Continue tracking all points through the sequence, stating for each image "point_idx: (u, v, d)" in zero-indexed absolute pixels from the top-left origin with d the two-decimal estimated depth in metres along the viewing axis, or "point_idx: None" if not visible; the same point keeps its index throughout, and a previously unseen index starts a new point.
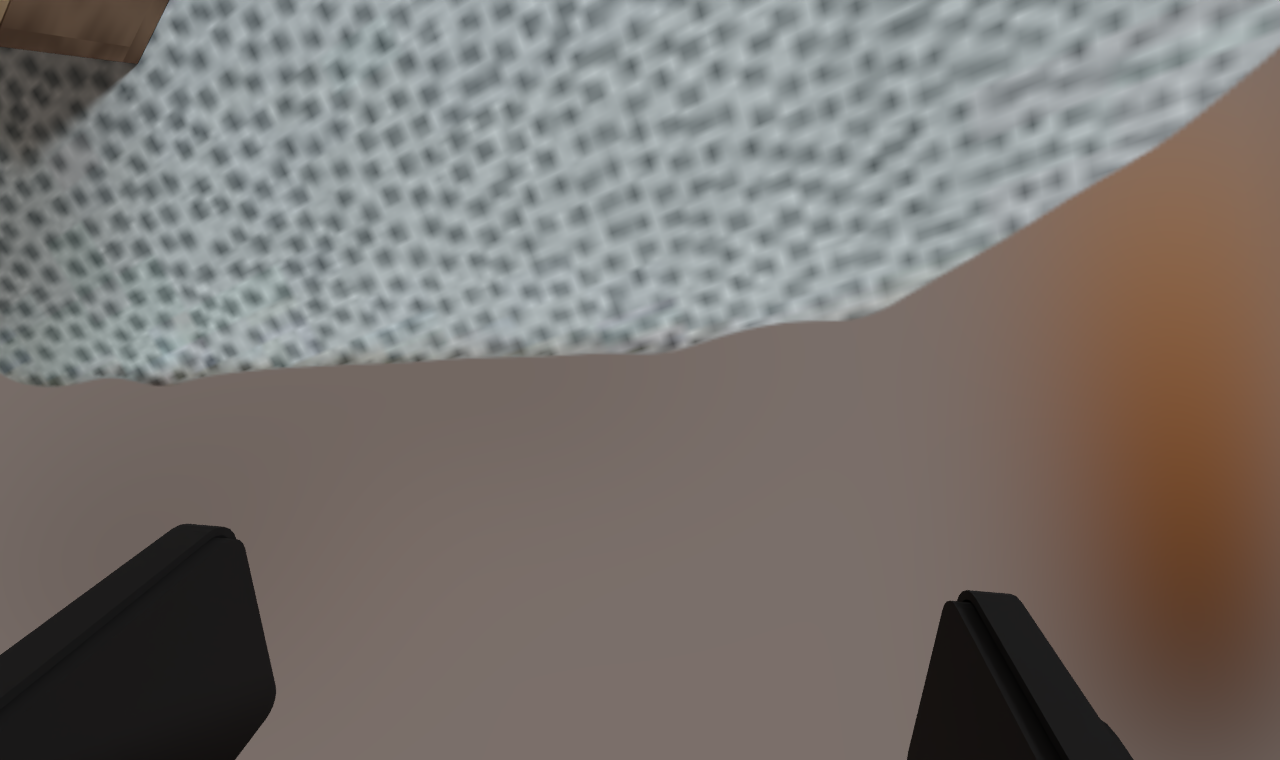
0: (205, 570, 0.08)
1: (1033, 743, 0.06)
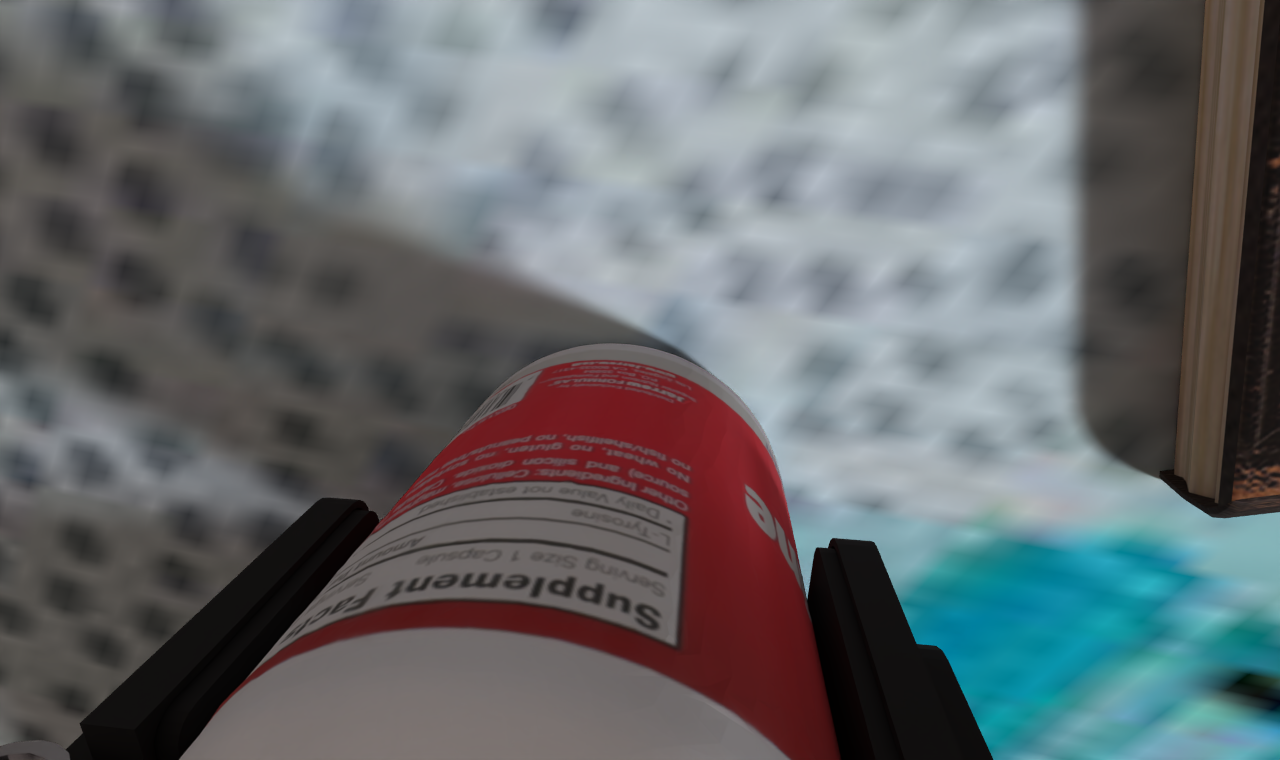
0: (352, 538, 0.09)
1: (853, 656, 0.07)
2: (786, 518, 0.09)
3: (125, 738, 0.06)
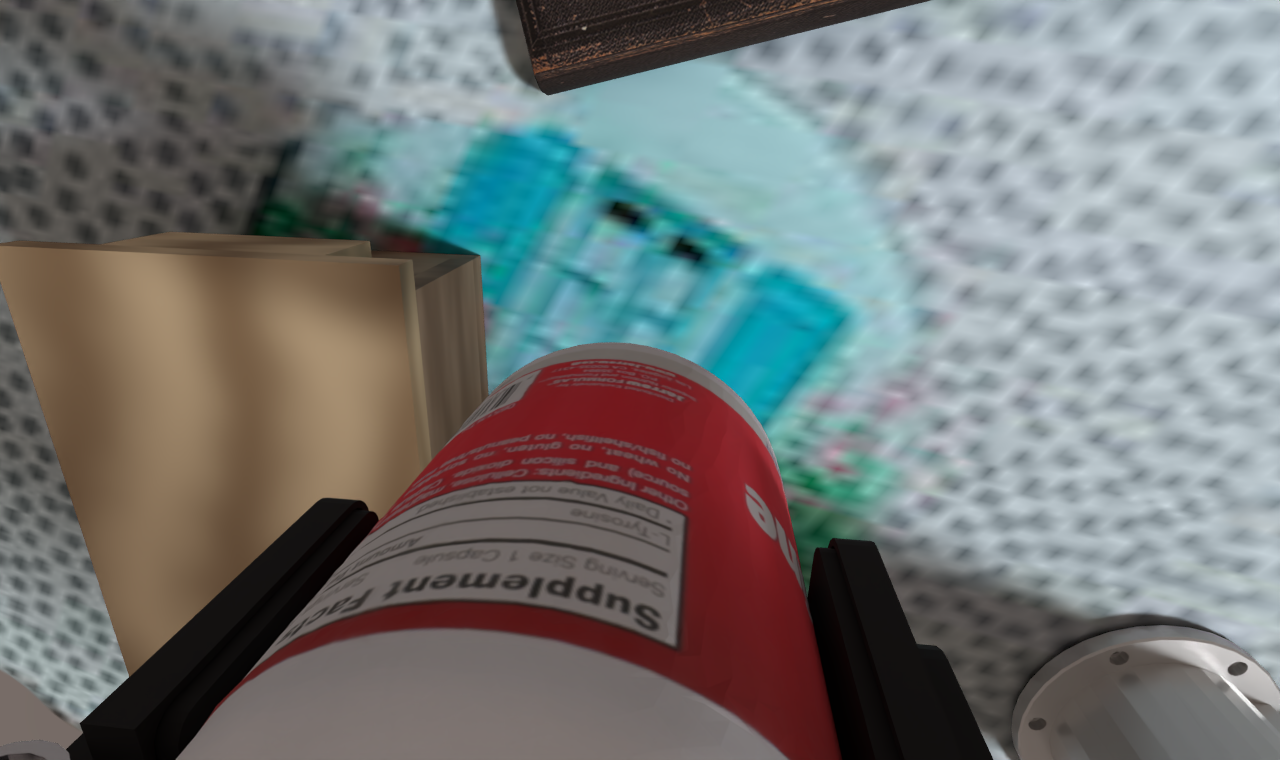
0: (352, 538, 0.09)
1: (853, 656, 0.07)
2: (787, 518, 0.09)
3: (125, 738, 0.06)
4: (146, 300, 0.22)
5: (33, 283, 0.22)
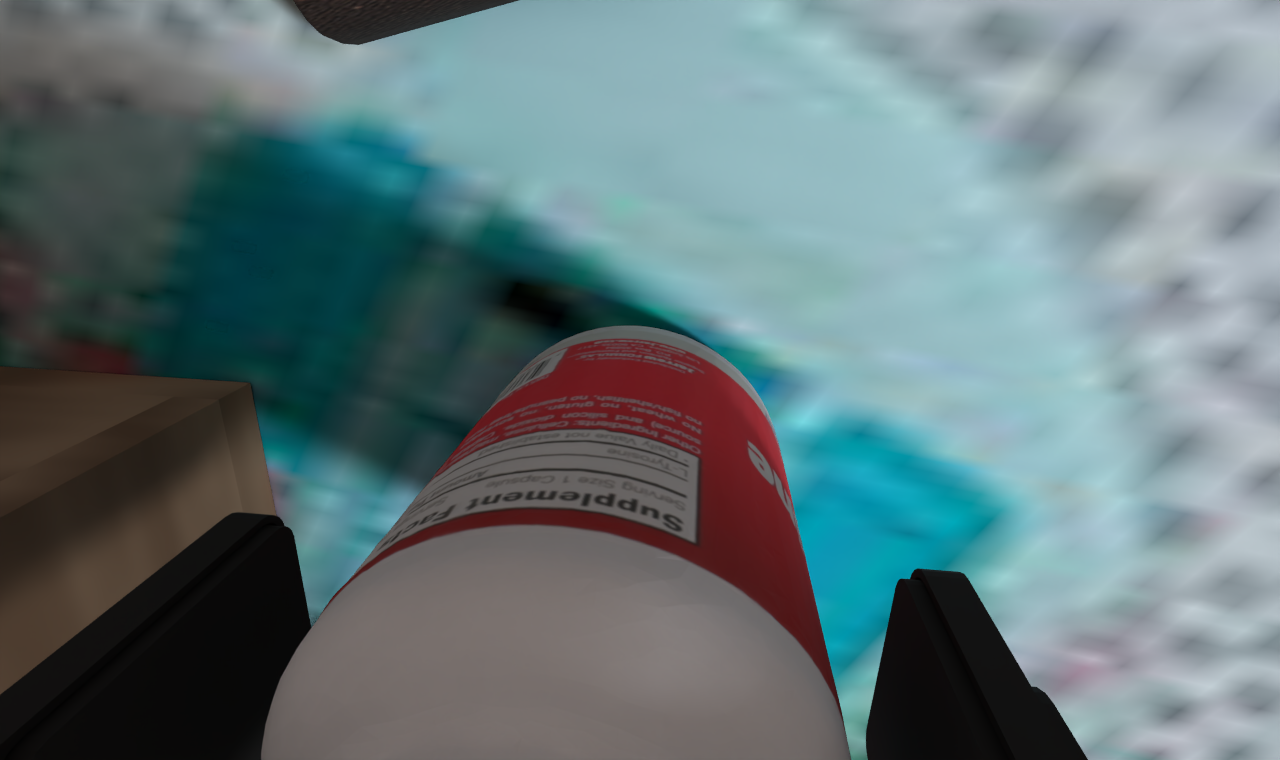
0: (259, 556, 0.08)
1: (966, 706, 0.06)
2: (783, 474, 0.11)
3: None
4: None
5: None
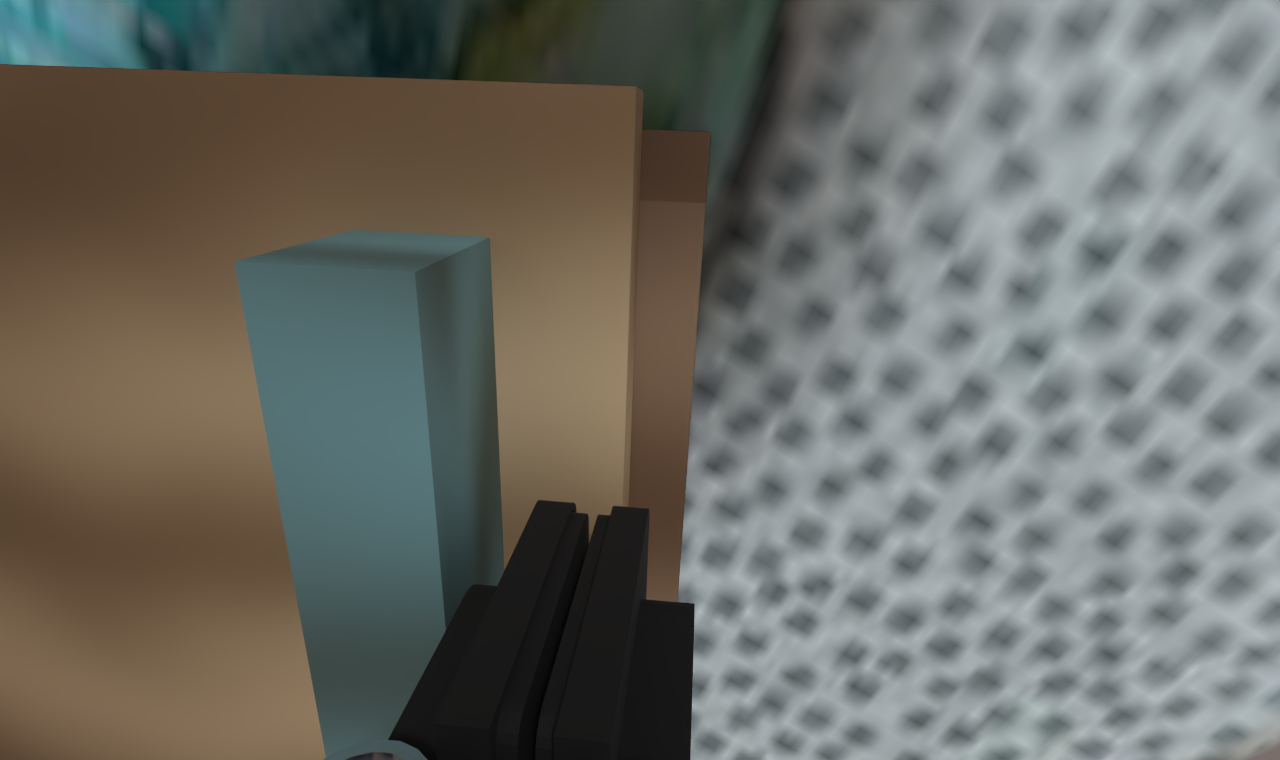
0: (579, 540, 0.09)
1: (578, 606, 0.07)
2: None
3: (475, 737, 0.06)
4: None
5: None
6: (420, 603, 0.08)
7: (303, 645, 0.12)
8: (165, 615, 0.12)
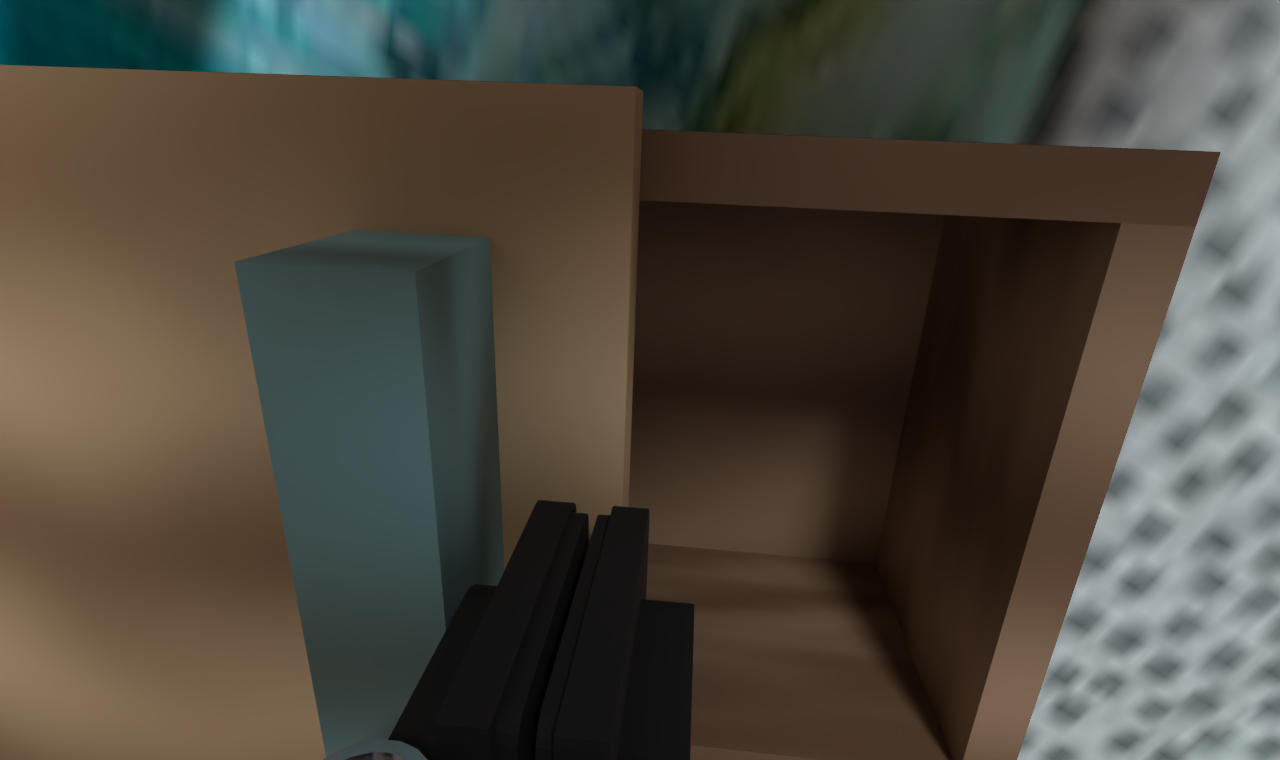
0: (579, 541, 0.09)
1: (578, 606, 0.07)
2: None
3: (475, 738, 0.06)
4: None
5: None
6: (420, 604, 0.08)
7: (303, 645, 0.12)
8: (165, 615, 0.12)
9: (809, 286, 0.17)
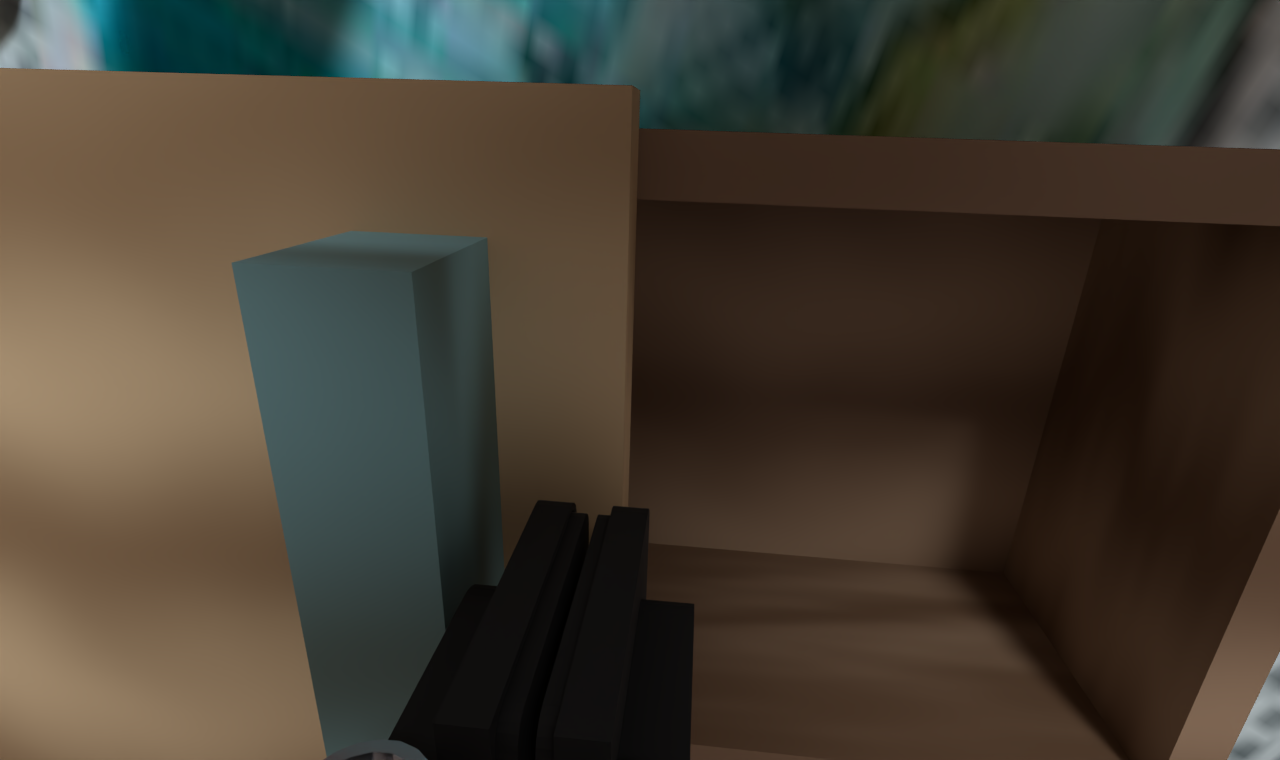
0: (579, 540, 0.09)
1: (578, 606, 0.07)
2: None
3: (475, 737, 0.06)
4: None
5: None
6: (419, 604, 0.08)
7: (304, 646, 0.12)
8: (167, 617, 0.12)
9: (955, 292, 0.17)
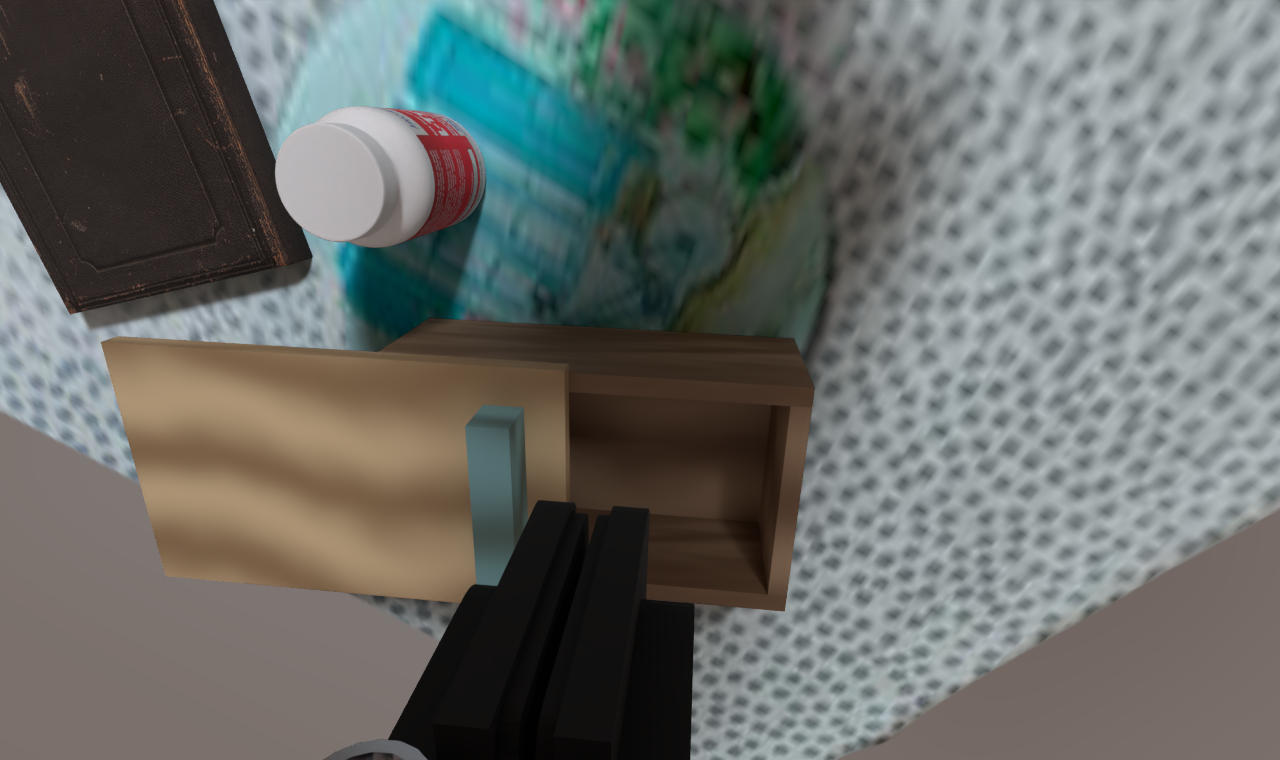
0: (579, 541, 0.09)
1: (578, 606, 0.07)
2: None
3: (475, 737, 0.06)
4: (171, 499, 0.35)
5: (180, 560, 0.37)
6: (506, 512, 0.30)
7: (455, 538, 0.34)
8: (405, 527, 0.34)
9: None
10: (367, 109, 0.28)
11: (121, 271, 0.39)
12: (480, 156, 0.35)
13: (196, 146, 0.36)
